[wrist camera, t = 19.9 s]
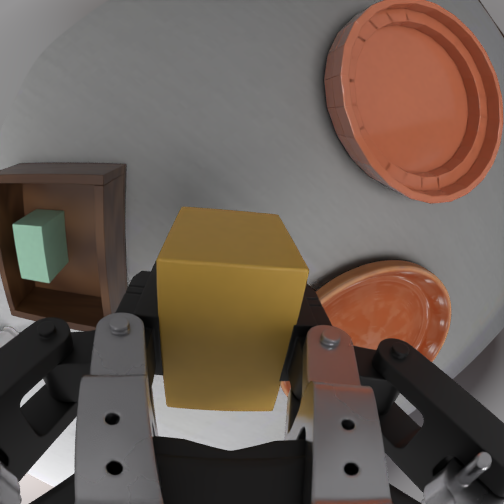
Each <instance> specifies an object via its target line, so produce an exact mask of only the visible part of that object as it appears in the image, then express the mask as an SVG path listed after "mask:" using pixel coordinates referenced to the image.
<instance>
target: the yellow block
mask: <svg viewBox="0 0 504 504" xmlns="http://www.w3.org/2000/svg"><path fill="white" fill-rule="evenodd" d="M156 267H157V299H158V316H159V328H160V343H161V355H162V366H163V379H164V388H165V397H166V405H167V406H168V407H175V408H187V409H200V410H219V411H272V410H273V408H274V405H275V401H276V398H277V395H278V391H279V388H280V384H281V381H279V380H280V376H281V372H282V369H283V365H284V361H285V357H286V354H287V350H288V346H289V342H290V338H291V334H292V330H293V326H294V325H296V324H297V320H298V316H299V312H300V308H301V304H302V300H303V296H304V291H305V287H306V283H307V278H308V274H309V269H308V267H307V265H306V263H305V261H304V260H303V258H302V256H301V254H300V252H299V251H298V249H297V247H296V245H295V243H294V242H293V240H292V238H291V236H290V234H289V233H288V231H287V229H286V227H285V226H284V224H283V222H282V220H281V219H280V217H279V215H276V214H266V213H256V212H245V211H234V210H222V209H210V208H197V207H181V209H180V211H179V213H178V215H177V217H176V219H175V221H174V223H173V225H172V227H171V230H170V232H169V234H168V236H167V238H166V240H165V242H164V244H163V247H162V249H161V251H160V253H159V255H158V258H157V260H156Z"/></svg>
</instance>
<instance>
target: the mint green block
mask: <svg viewBox="0 0 504 504" xmlns="http://www.w3.org/2000/svg"><path fill="white" fill-rule="evenodd" d="M13 233H14V240H15V246H16V252H17V258H18V263H19V268H20V273H21V278H23V279H28V280H34V281H39V282H45V283H50V282H51V281H52V280H53V279H54V278H55V276H56V275H57V274H58V273H59V272H60V271H61V270H62V269H63V268H64V266H65V265H66V264H67V263H68V262H69V261H68V252H67V243H66V232H65V218H64V211H60V210H44V209H36V210H34V211H33V212H31V213H29V214H28V215H26V216H24V217H23V218H21V219H20V220H18V221H17V222H15V223H13Z"/></svg>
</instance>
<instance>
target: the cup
mask: <svg viewBox="0 0 504 504" xmlns="http://www.w3.org/2000/svg"><path fill="white" fill-rule="evenodd" d="M18 334H19V333H18V332H17V331H16V330H14V329H13V328H12V327H4V328H3V331H0V348H1V347H2V346H3V345H5V344H6V343H7V342H9V341H10V340H11V339H13V338H14V337H15V336H17V335H18Z"/></svg>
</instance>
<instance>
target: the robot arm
mask: <svg viewBox="0 0 504 504" xmlns="http://www.w3.org/2000/svg"><path fill="white" fill-rule="evenodd" d="M154 374H155V375H163V366H162V355H161V343H160V328H159V316H158V299H157V267H156V262H155V264H154V266H153V269H152V271H151V272H150V271H141V272H140V273H138V274H137V275H135V276H134V277H133V278H132V280H131V282H130V284H129V287H128V288H127V290H126V293H125V294H124V296H123V298H122V300H121V302H120V304H119V306H118V308H117V310H116V312H115V313H113V314H110V315H107V316H105V317H103V318H102V319H101V320H100V321H99V322H98V324H97V326H96V330H92V331H84V332H70V328H69V325H68V323H67V322H66V321H64V320H62V319H60V318H55V317H48V318H43V319H40V320H38V321H36V322H34V323H33V324H32V325H30V326H29V327H27V328H26V329H25V330H23V331H22V332H21V333H19V334H18V335H17V336H15V337H14V338H13V339H11V340H10V341H9V342H7V343H6V344H5V345H3V346H2V347H1V348H0V504H20V503H21V496H20V486H19V481H20V480H21V479H22V478H23V476H24V475H25V474H26V473H27V472H28V471H29V469H30V468H31V467H32V466H33V465H34V464H35V463H36V461H37V460H38V459H39V458H40V457H41V456H42V455H43V453H44V452H45V451H46V450H47V449H48V448H49V447H50V446H51V444H52V443H53V442H54V441H55V440H56V439H57V438H58V437H59V435H60V434H61V433H62V432H63V431H64V430H65V429H66V428H67V426H68V425H69V424H70V423H71V422H72V421H73V420H74V419H75V417H76V416H77V421H76V437H75V473H74V474H73V475H71V476H70V477H69V478H67V479H66V480H64V481H63V482H61V483H60V484H58V485H57V486H55V487H54V488H52V489H51V490H49V491H48V492H47V493H45V494H43V495H42V496H40V497H39V498H37V499H36V500H34V501H32V502H31V503H29V504H503V502H504V423H503V422H502V421H500V420H499V419H498V418H497V417H496V416H495V415H494V414H492V413H491V412H490V411H489V410H488V409H486V408H485V407H484V406H483V405H482V404H481V403H480V402H478V401H477V400H476V399H475V398H474V397H473V396H471V395H470V394H469V393H468V392H467V391H465V390H464V389H463V388H462V387H461V386H460V385H458V384H457V383H456V382H455V381H454V380H453V379H451V378H450V377H449V376H448V375H447V374H445V373H444V372H443V371H442V370H441V369H439V368H438V367H437V366H436V365H435V364H433V363H432V362H431V361H430V360H428V359H427V358H426V357H425V356H424V355H422V354H421V353H420V352H419V351H417V350H416V349H415V348H414V347H413V346H411V345H410V344H409V343H407V342H405V341H403V340H400V339H395V338H388V339H384V340H382V341H381V342H380V343H379V345H378V347H377V349H376V350H373V349H368V348H363V347H358V346H354V345H353V342H352V339H351V337H350V336H349V335H348V334H347V333H346V332H344V331H343V330H341V329H339V328H337V327H334V326H332V324H331V322H330V320H329V318H328V316H327V314H326V312H325V310H324V308H323V307H322V304H321V302H320V300H319V298H318V296H317V294H316V292H315V290H314V289H313V288H311V287H310V286H309V285H308V284H307V283H306V287H305V291H304V296H303V300H302V304H301V308H300V312H299V316H298V320H297V324H296V325H294V326H293V330H292V334H291V338H290V342H289V346H288V350H287V354H286V357H285V361H284V365H283V369H282V372H281V376H280V380H279V381H290V385H291V388H290V391H289V394H288V402H287V415H286V426H285V437H284V441H273V442H269V443H265V444H261V445H257V446H253V447H248V448H244V449H239V450H234V451H227V450H223V449H218V448H214V447H210V446H207V445H203V444H199V443H196V442H192V441H189V440H185V439H178V438H168V437H160V436H158V432H157V425H156V417H155V409H154V401H153V392H152V383H153V379H154ZM42 379H44V381H45V385H44V386H43V387H42V388H41V389H40V390H39V391H38V392H36V393H35V394H34V395H33V396H32V397H31V398H30V399H29V400H28V401H27V402H26V403H25V404H24V405H23V406H22V407H21V408H20V402H21V400H22V398H23V396H24V395H25V394H26V393H27V392H29V391H30V390H31V389H32V388H33V387H34V386H35V385H36V384H37V383H38V382H39V381H40V380H42ZM400 393H401V394H402V395H403V396H404V397H405V398H406V399H407V400H408V401H409V402H410V403H411V404H412V405H414V406H415V407H416V408H417V409H418V410H419V411H420V412H421V414H422V415H423V418H424V423H423V426H422V427H420V426H418V425H417V424H416V423H415V422H414V421H413V420H412V419H411V418H410V417H409V416H408V415H407V414H406V413H405V412H404V411H403V410H402V409H401V408H400V407H399V406H398V405H397V404H396V403H395V400H396V398H397V397H398V395H399V394H400ZM385 453H386V454H387V455H388V456H389V457H390V458H391V459H392V460H393V462H394V463H395V464H396V465H397V466H398V467H399V468H400V469H401V470H402V471H403V472H404V473H405V474H406V475H407V476H408V477H409V478H410V479H411V481H412V482H413V483H414V484H415V485H416V486H418V488H419V489H420V490H421V491H422V492H423V493H424V499H423V500H422V501H421V503H420V502H418V501H416V500H415V499H413V498H411V497H410V496H408V495H407V494H405V493H403V492H402V491H400V490H399V489H397V488H396V487H394V486H392V485H391V484H389V479H388V472H387V465H386V457H385Z"/></svg>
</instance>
